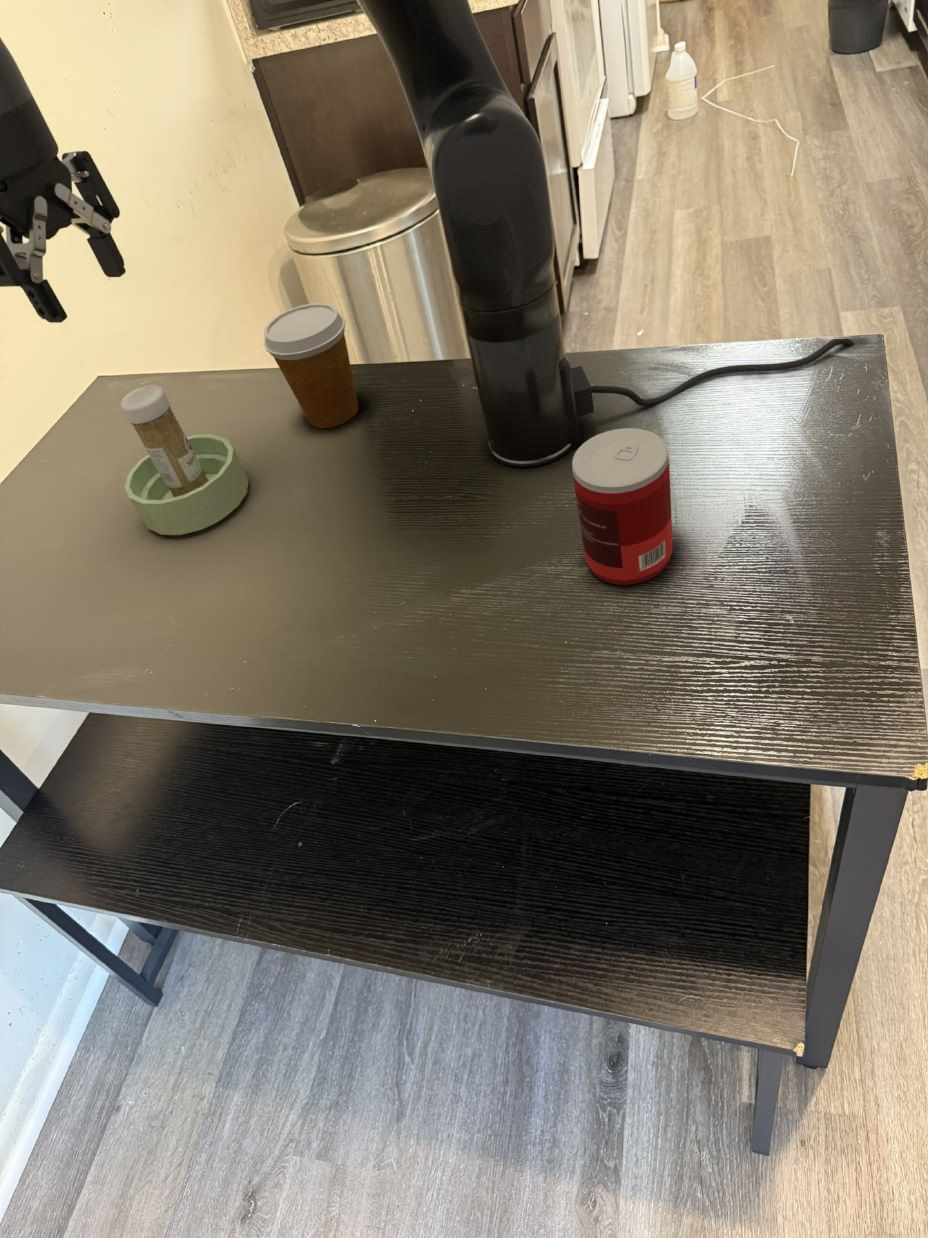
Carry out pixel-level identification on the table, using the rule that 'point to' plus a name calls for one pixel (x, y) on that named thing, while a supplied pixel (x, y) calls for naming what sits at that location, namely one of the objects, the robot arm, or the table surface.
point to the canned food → (624, 504)
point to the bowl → (198, 504)
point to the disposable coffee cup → (314, 361)
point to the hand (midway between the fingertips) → (88, 297)
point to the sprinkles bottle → (164, 439)
